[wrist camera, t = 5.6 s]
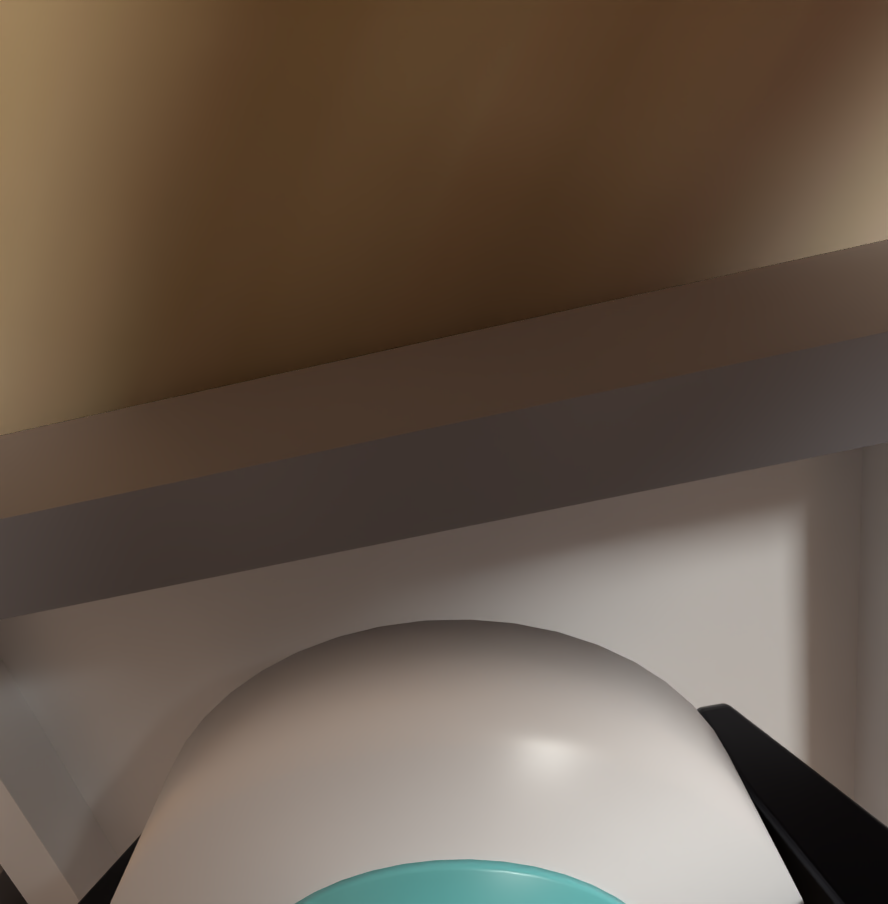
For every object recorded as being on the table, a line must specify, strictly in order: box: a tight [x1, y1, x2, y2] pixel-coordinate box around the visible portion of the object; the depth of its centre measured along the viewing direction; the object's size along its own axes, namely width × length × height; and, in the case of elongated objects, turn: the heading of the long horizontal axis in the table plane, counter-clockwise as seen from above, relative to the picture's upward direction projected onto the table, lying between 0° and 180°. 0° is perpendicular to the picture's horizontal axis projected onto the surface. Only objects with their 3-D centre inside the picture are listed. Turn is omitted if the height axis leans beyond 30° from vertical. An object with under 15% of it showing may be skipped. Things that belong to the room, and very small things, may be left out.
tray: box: [0, 240, 888, 904], centre depth 10 cm, size 16×14×3 cm
